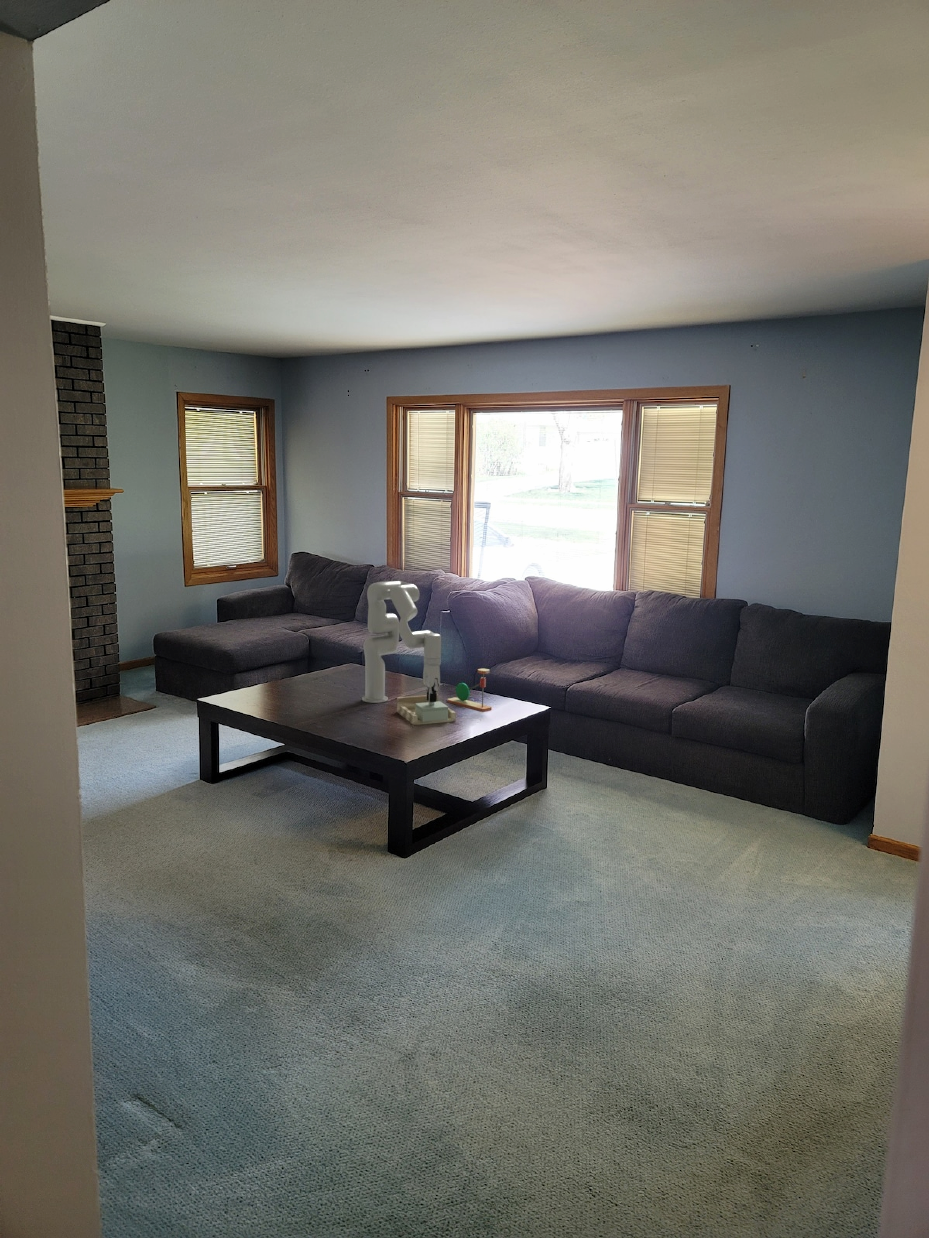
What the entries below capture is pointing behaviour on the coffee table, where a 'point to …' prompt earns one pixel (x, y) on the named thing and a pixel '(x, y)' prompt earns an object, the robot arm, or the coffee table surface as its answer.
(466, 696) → the crank mechanism
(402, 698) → the bay
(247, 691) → the coffee table surface
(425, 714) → the green joystick
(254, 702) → the coffee table surface
